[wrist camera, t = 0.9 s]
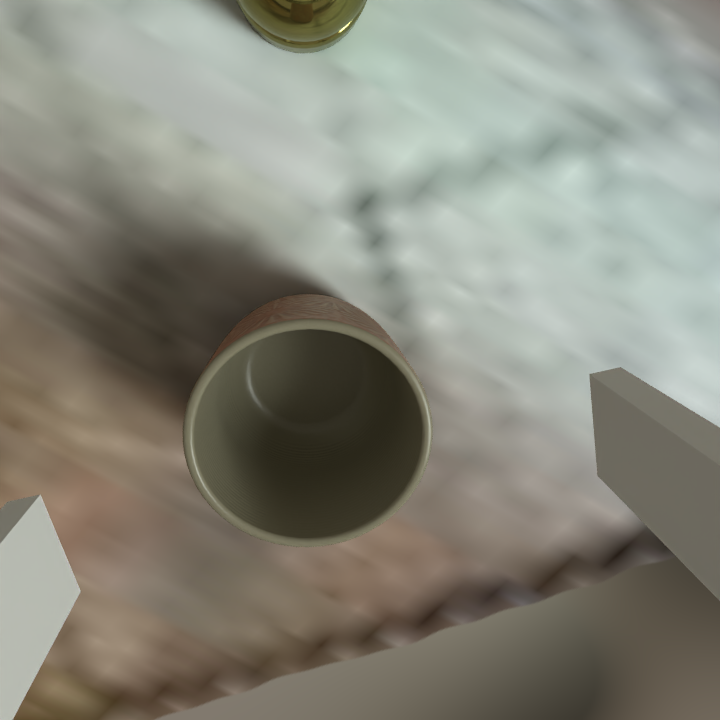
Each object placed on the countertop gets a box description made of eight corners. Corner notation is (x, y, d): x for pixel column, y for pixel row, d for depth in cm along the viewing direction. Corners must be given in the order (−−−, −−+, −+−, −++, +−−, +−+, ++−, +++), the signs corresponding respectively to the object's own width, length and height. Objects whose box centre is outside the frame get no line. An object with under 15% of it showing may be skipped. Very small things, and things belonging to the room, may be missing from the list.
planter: (364, 475, 43) (383, 572, 32) (192, 427, 40) (153, 515, 30) (427, 314, 39) (470, 364, 29) (244, 252, 37) (222, 283, 27)
